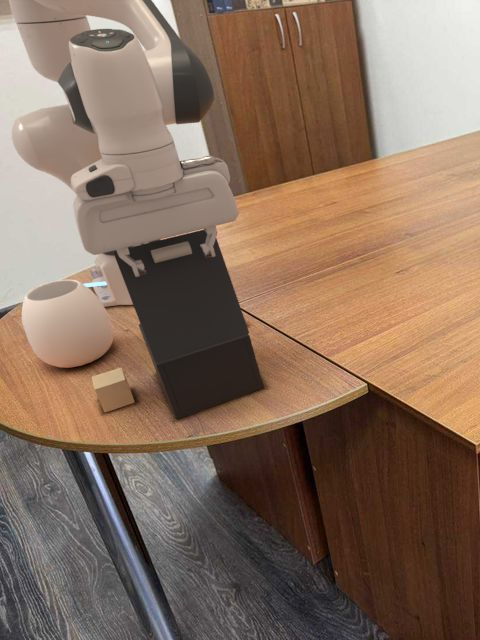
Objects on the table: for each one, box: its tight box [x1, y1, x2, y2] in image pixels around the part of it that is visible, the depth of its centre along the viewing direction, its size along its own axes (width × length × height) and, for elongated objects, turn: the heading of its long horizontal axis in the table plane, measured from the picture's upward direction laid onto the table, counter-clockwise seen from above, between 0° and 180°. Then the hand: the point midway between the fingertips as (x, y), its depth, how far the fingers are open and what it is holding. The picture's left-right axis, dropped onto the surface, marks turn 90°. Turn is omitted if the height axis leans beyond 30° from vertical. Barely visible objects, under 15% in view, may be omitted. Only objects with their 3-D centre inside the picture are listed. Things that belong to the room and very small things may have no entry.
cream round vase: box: [21, 279, 115, 369], centre depth 115 cm, size 13×13×14 cm
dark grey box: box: [138, 323, 265, 420], centre depth 106 cm, size 16×14×10 cm
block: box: [91, 367, 136, 413], centre depth 104 cm, size 4×4×4 cm
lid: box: [113, 229, 250, 363], centre depth 94 cm, size 17×14×5 cm
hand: (175, 265), depth 92 cm, fingers open, 8 cm apart
